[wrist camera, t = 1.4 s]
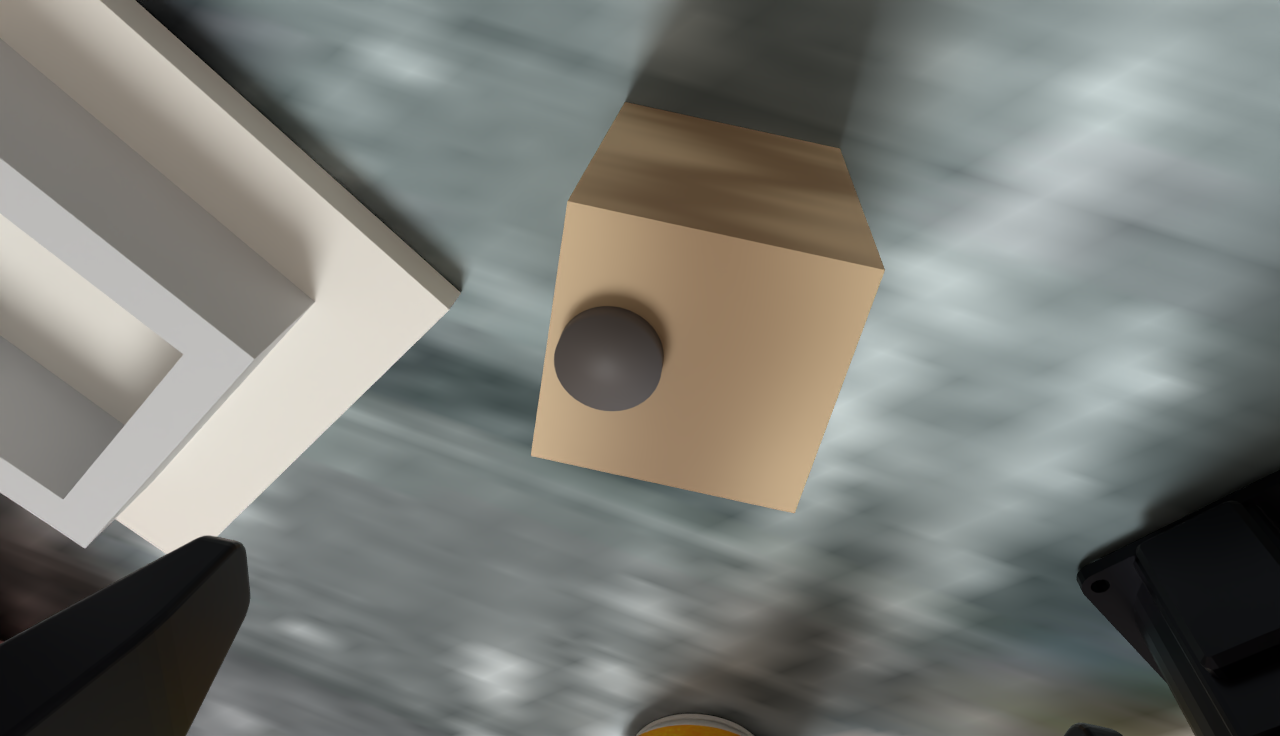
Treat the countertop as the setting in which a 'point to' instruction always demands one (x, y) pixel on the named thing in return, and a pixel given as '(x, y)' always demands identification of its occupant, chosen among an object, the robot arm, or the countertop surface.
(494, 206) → the countertop surface
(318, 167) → the socket plate
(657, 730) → the beer can
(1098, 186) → the countertop surface
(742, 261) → the tan block
